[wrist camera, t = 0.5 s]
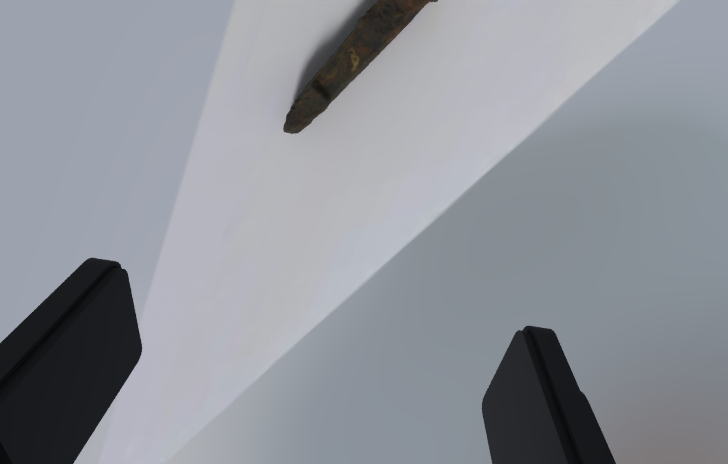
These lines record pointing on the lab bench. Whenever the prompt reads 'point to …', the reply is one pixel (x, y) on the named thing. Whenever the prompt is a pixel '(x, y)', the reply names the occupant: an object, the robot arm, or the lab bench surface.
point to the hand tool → (352, 58)
